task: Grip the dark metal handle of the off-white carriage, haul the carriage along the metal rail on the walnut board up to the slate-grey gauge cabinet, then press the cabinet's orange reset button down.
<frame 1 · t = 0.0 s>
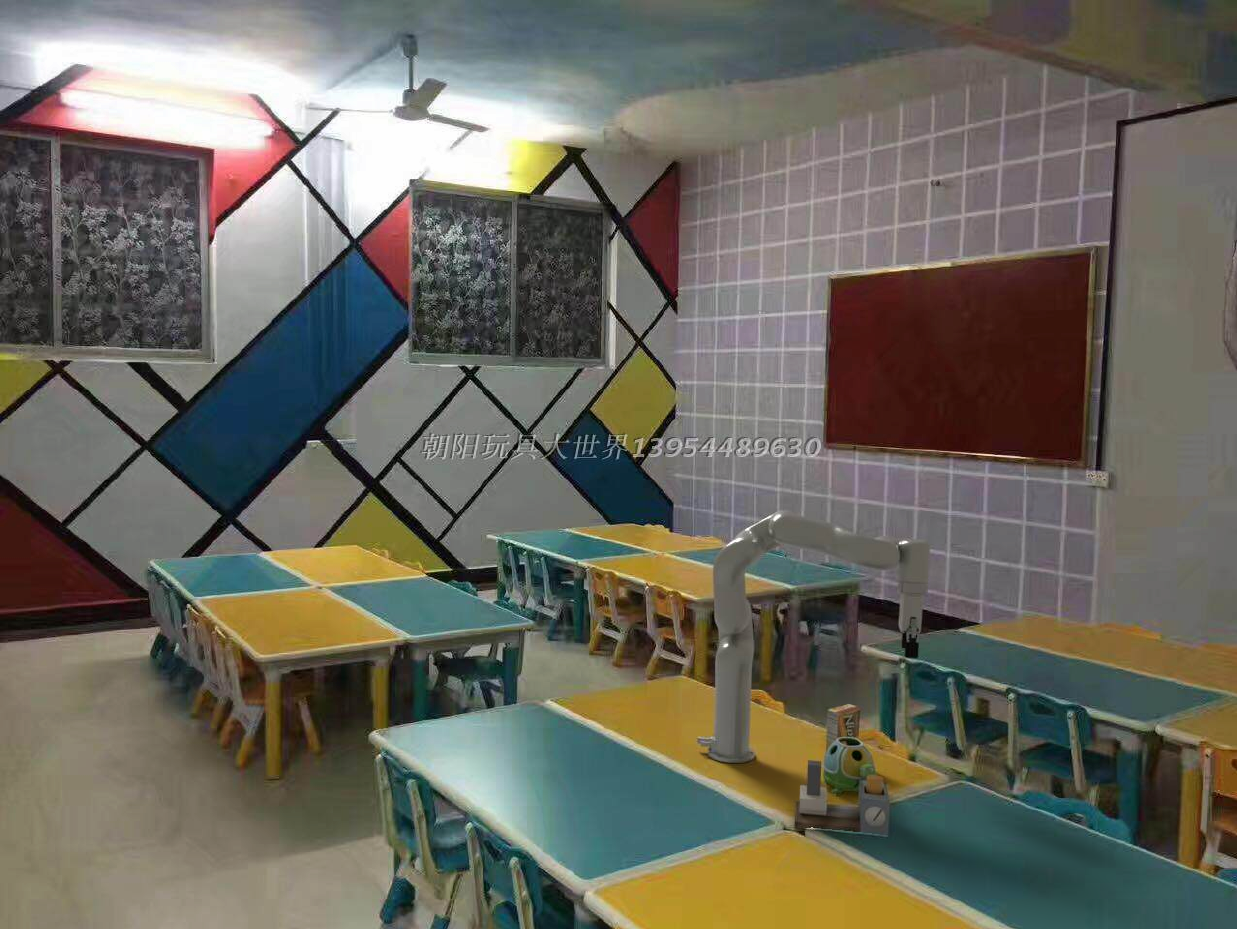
hand: (909, 652, 268), 31 cm above the table, tool pointing down, fingers open, 9 cm apart
candy box: (841, 765, 273), on the table
carriage: (813, 786, 238), point 8 cm above the table, slide at 0.0 cm
reset button: (874, 786, 235), point 9 cm above the table, slide at 0.0 cm
rail board: (826, 820, 238), on the table
turtle holder: (851, 791, 256), on the table
gauge cabinet: (872, 824, 236), on the table
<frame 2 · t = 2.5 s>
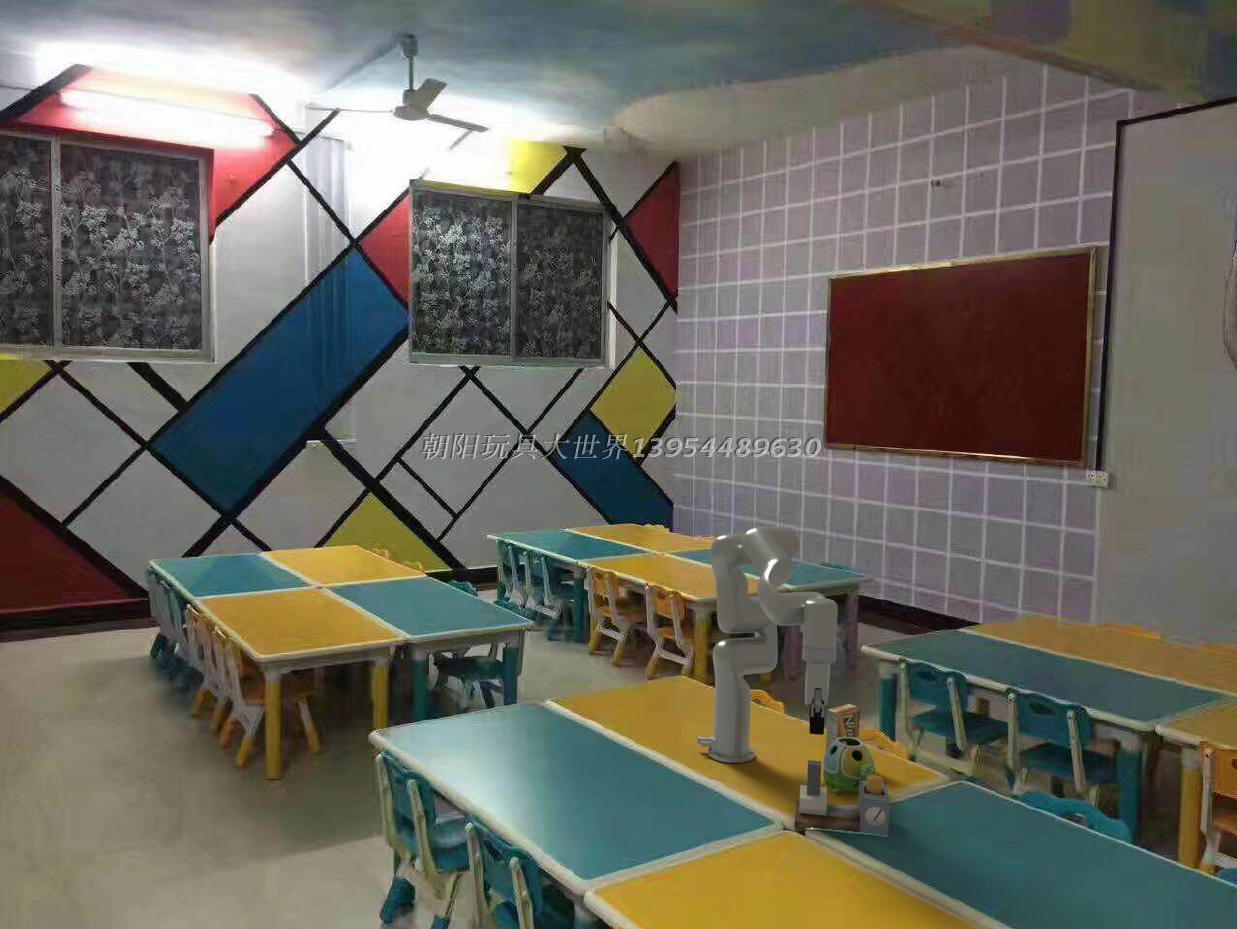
hand: (816, 727, 237), 22 cm above the table, tool pointing down, fingers open, 9 cm apart
nothing on the table moved.
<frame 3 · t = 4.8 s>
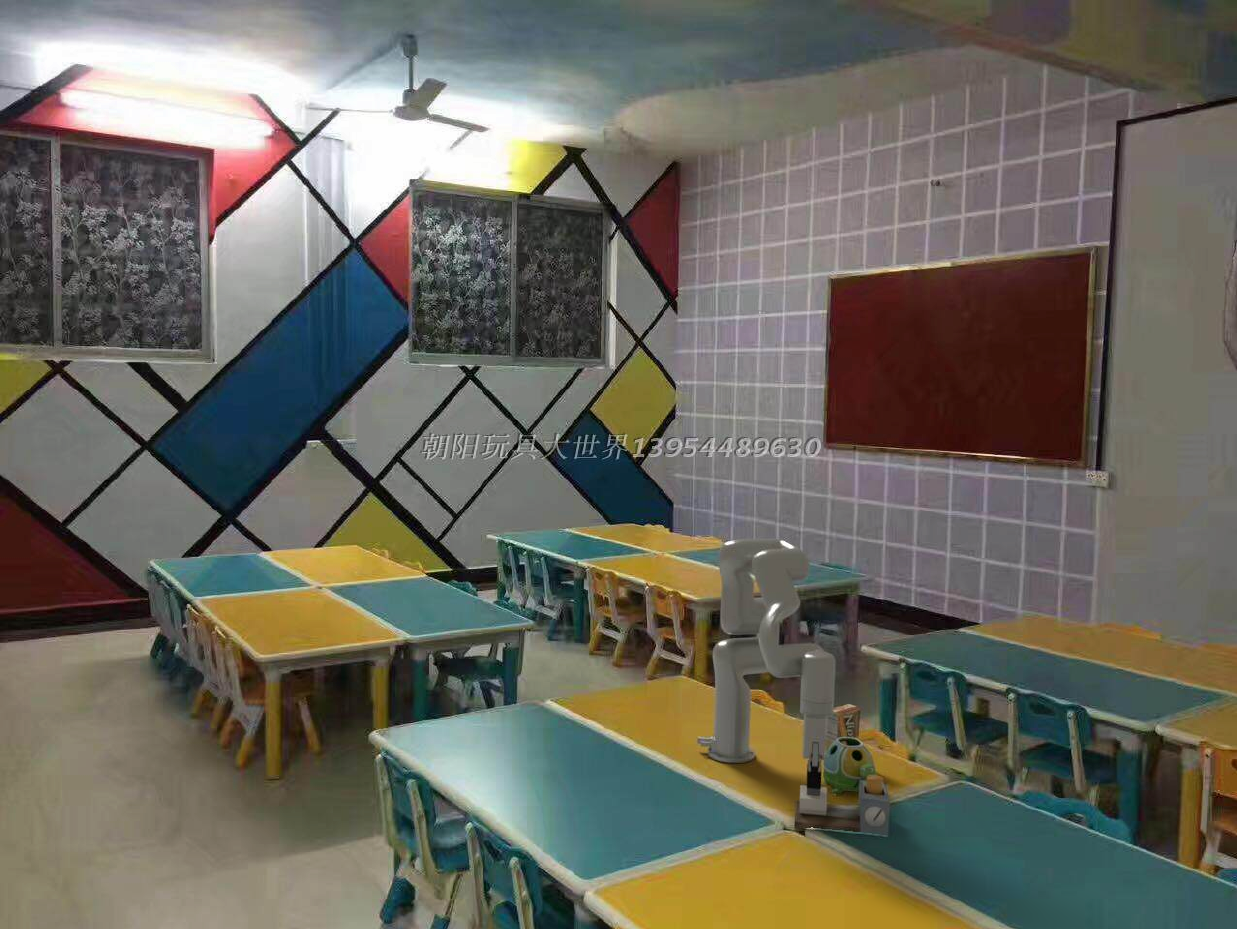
hand: (813, 784, 238), 8 cm above the table, tool pointing down, fingers closed on carriage, 3 cm apart
carriage: (813, 786, 238), point 8 cm above the table, slide at 0.0 cm, touching gripper
everything else where it was.
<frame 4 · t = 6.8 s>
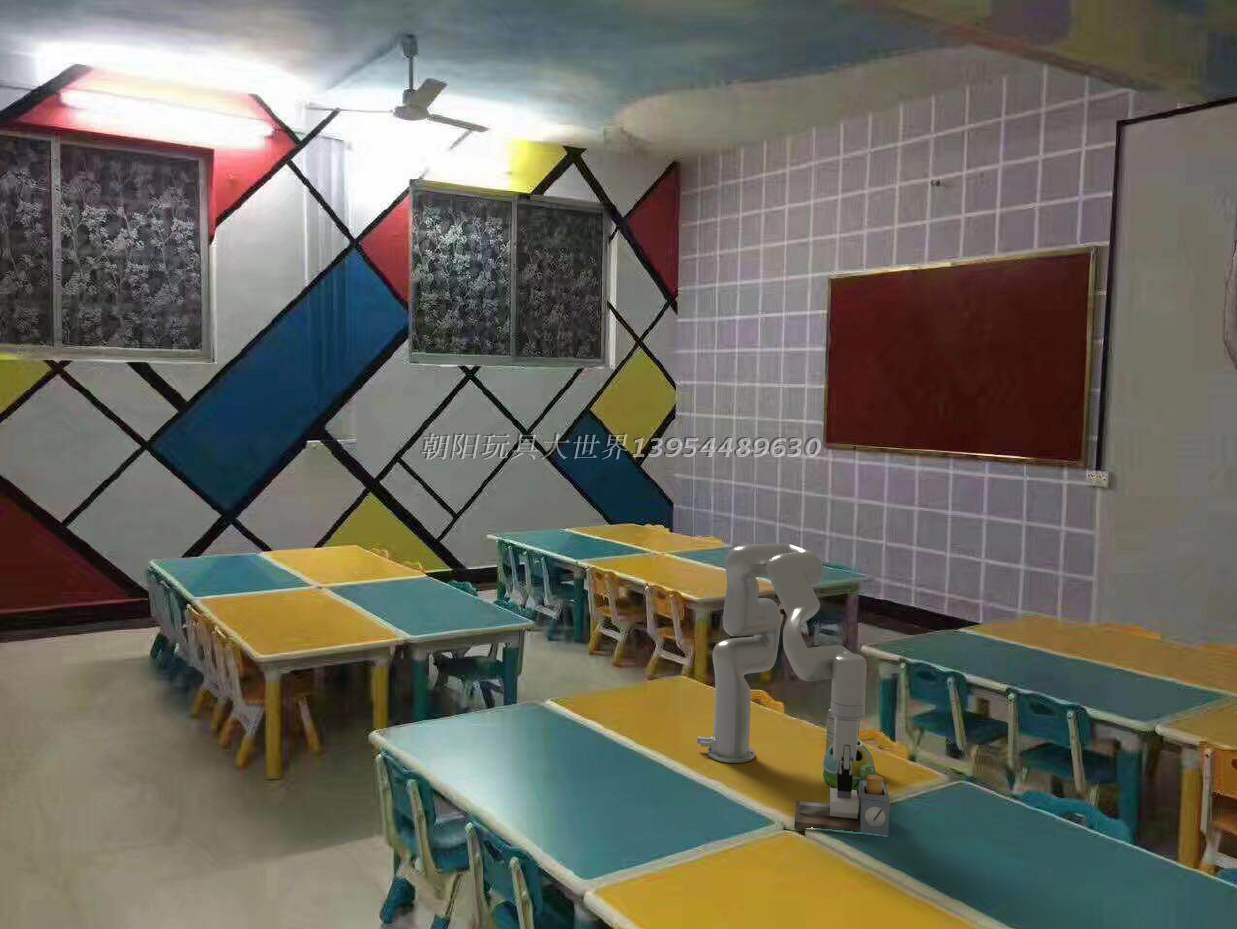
hand: (844, 787, 237), 8 cm above the table, tool pointing down, fingers closed on carriage, 3 cm apart
carriage: (844, 789, 237), point 8 cm above the table, slide at 6.9 cm, touching gripper
everything else where it was.
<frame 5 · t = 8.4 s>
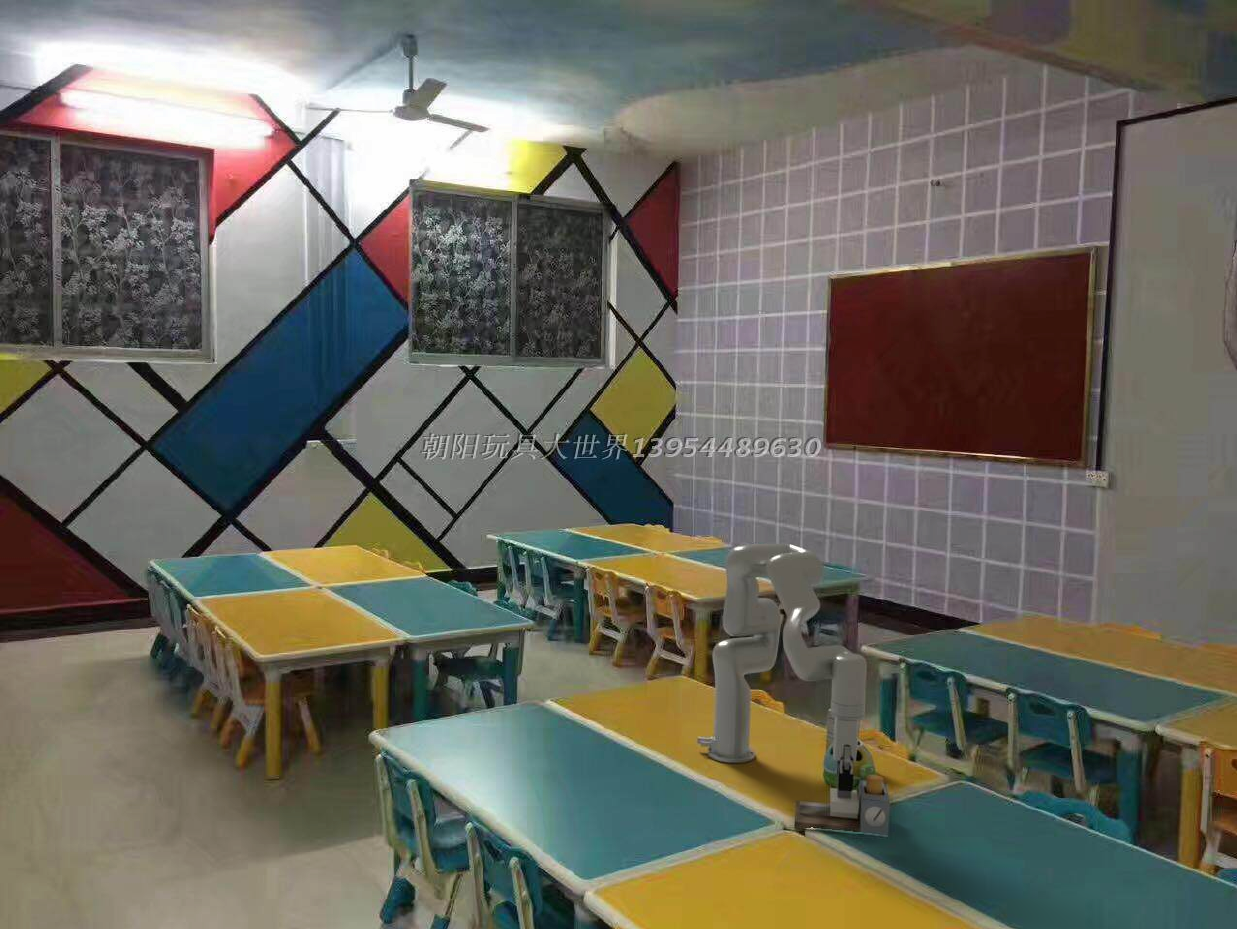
hand: (844, 782, 237), 9 cm above the table, tool pointing down, fingers open, 9 cm apart
carriage: (844, 789, 237), point 8 cm above the table, slide at 6.9 cm
everything else where it was.
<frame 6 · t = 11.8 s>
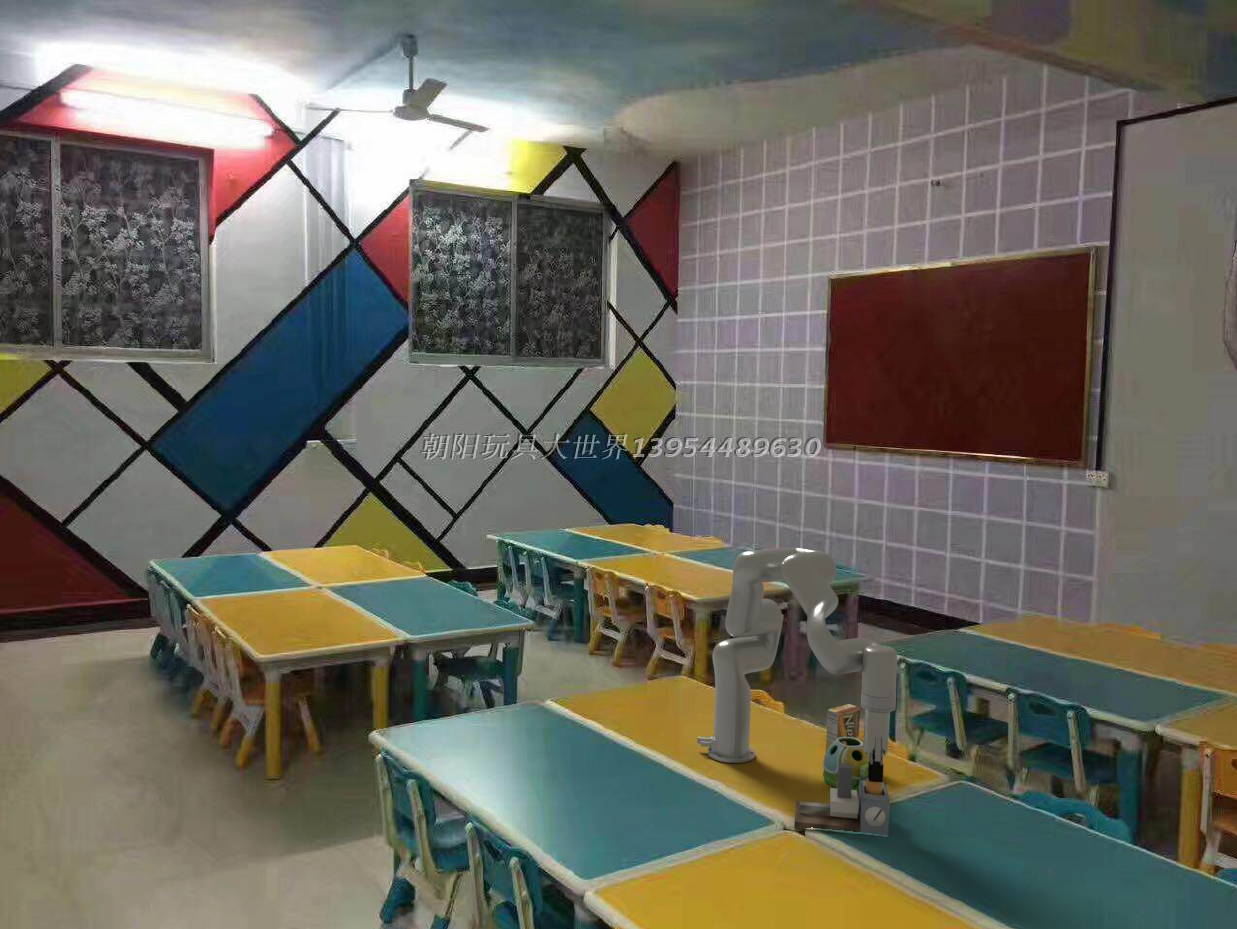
hand: (875, 780, 235), 10 cm above the table, tool pointing down, fingers closed
reset button: (874, 788, 235), point 8 cm above the table, slide at 0.6 cm, touching gripper
everything else where it was.
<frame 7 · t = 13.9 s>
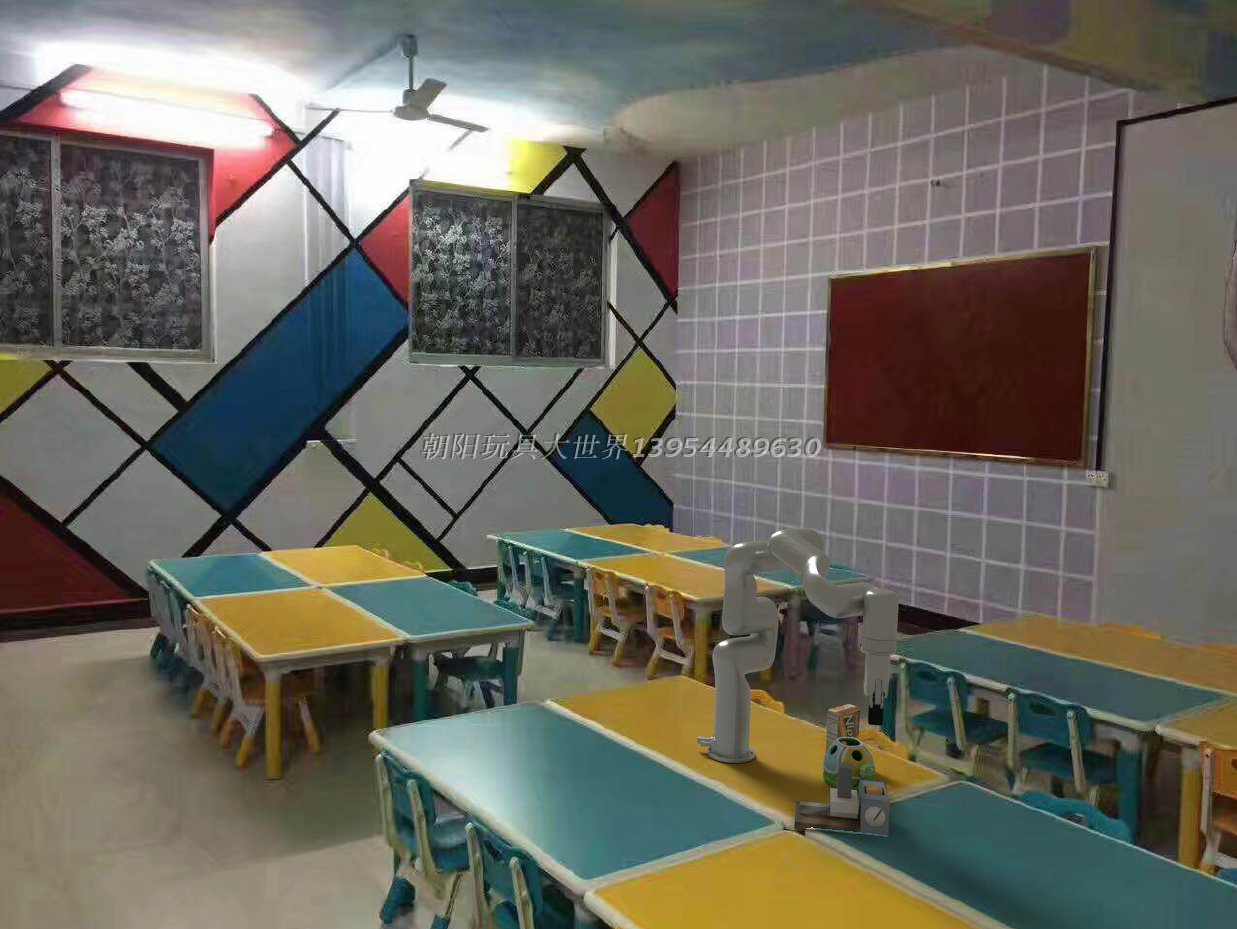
hand: (875, 723, 235), 23 cm above the table, tool pointing down, fingers closed
reset button: (873, 797, 236), point 6 cm above the table, slide at 2.5 cm
everything else where it was.
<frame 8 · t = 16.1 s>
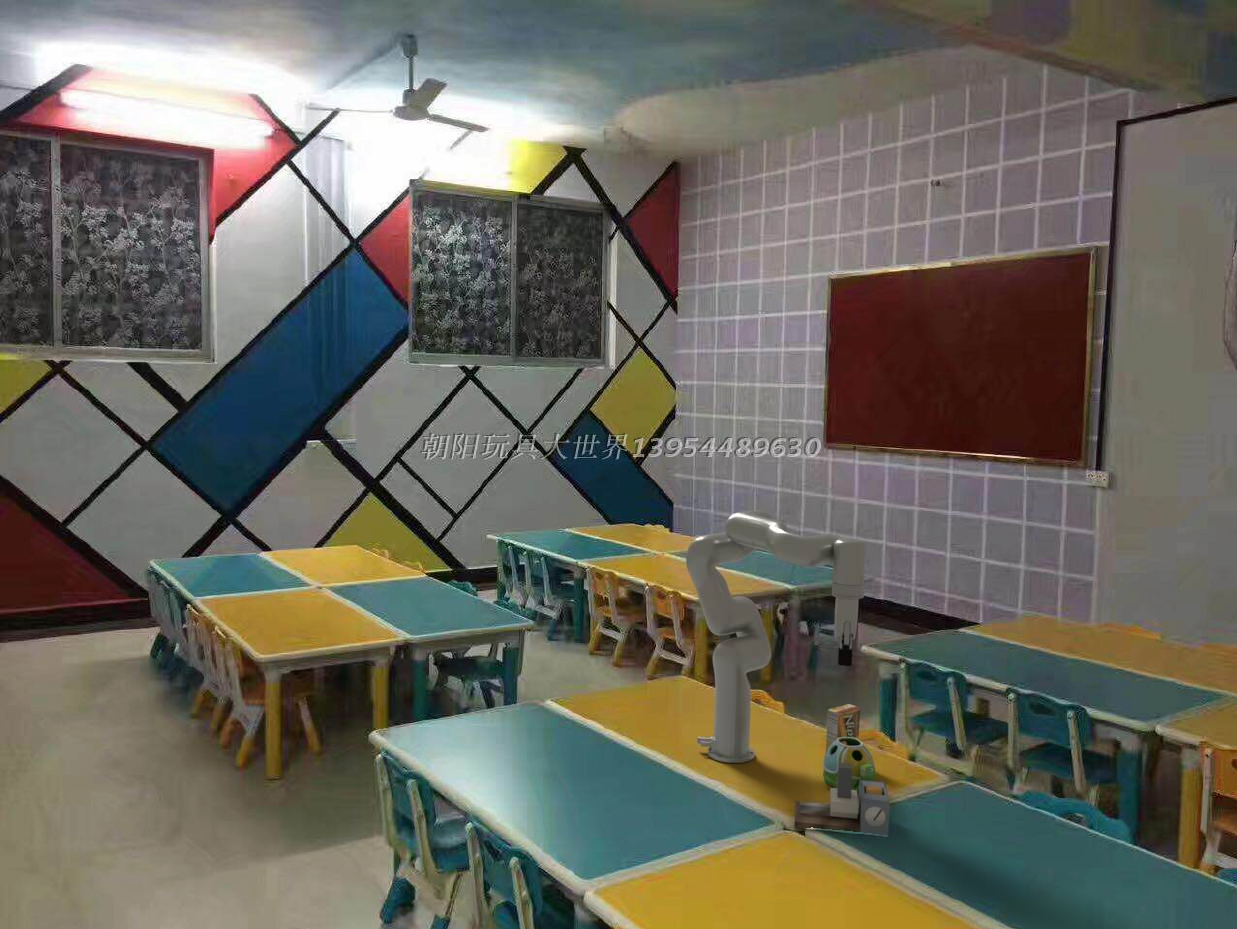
hand: (844, 664, 252), 32 cm above the table, tool pointing down, fingers closed
nothing on the table moved.
at the end: carriage slide at 6.9 cm; reset button slide at 2.5 cm; the gripper is holding nothing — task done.
